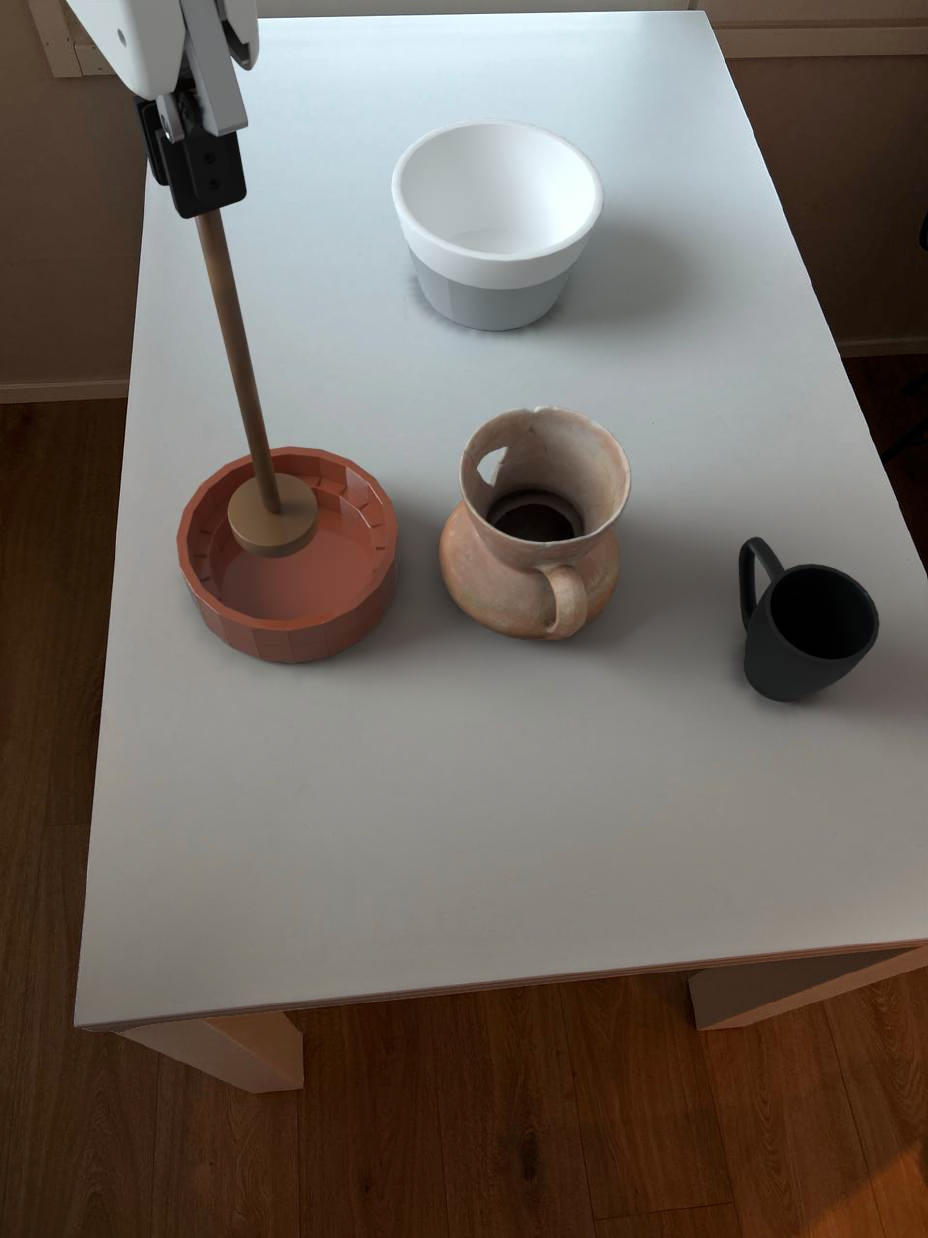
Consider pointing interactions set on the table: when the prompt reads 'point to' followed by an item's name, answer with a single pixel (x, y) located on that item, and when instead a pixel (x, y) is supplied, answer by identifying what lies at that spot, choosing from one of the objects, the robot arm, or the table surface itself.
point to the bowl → (495, 218)
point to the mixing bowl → (293, 562)
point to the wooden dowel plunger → (253, 420)
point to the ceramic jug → (537, 523)
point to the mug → (801, 625)
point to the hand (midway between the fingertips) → (200, 187)
